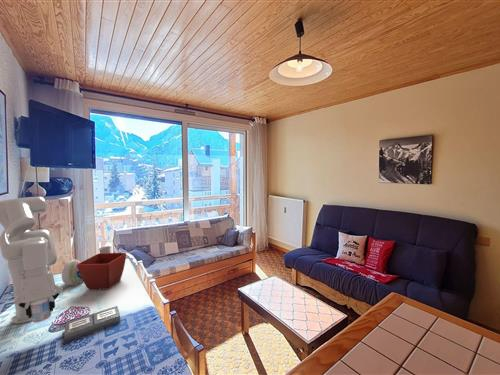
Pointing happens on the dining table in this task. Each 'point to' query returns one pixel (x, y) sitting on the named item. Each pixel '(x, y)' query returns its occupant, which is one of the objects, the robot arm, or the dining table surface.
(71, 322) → the panel
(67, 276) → the decorative egg
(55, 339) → the dining table surface
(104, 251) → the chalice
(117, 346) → the dining table surface
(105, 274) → the plant pot
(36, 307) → the pill bottle
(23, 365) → the dining table surface
